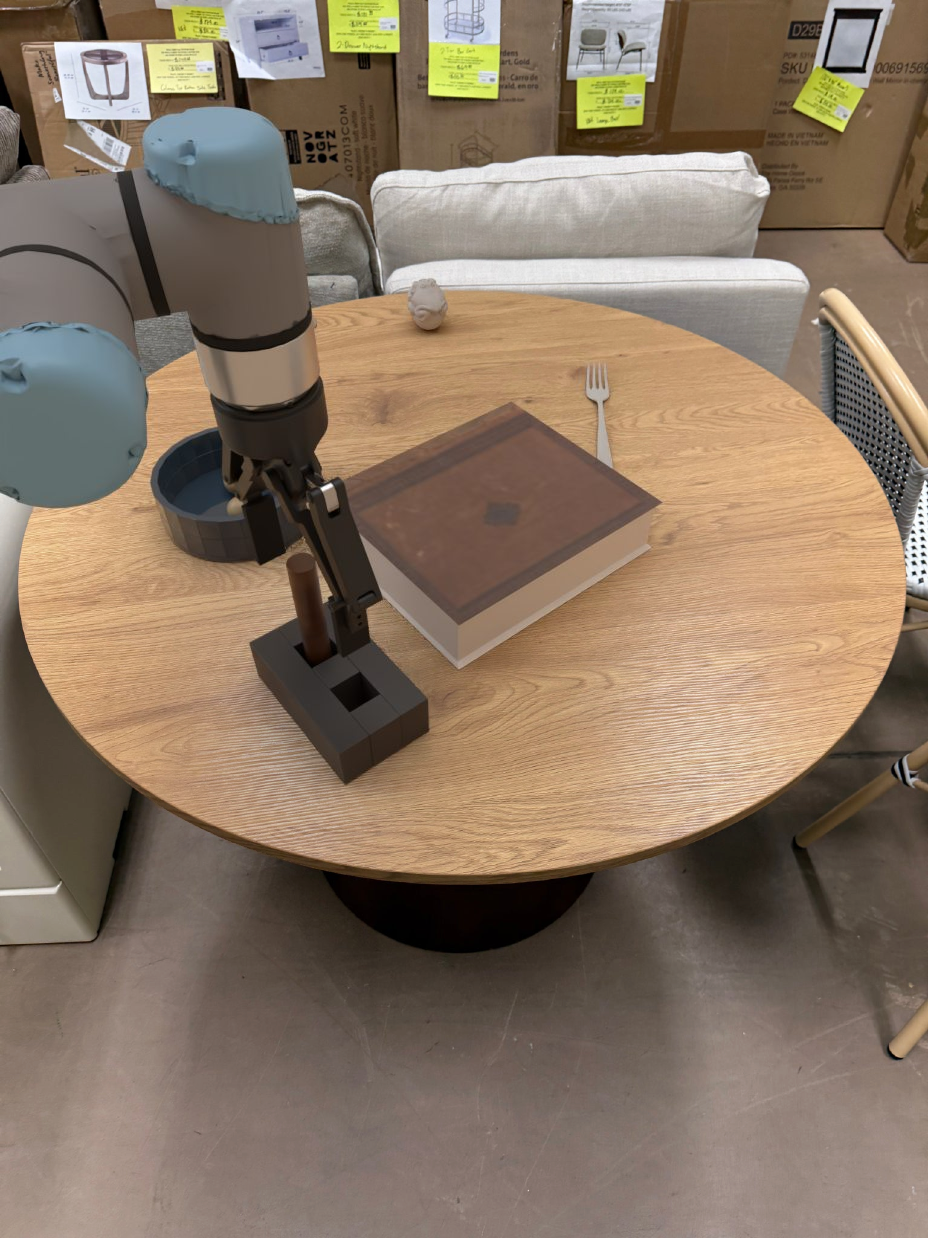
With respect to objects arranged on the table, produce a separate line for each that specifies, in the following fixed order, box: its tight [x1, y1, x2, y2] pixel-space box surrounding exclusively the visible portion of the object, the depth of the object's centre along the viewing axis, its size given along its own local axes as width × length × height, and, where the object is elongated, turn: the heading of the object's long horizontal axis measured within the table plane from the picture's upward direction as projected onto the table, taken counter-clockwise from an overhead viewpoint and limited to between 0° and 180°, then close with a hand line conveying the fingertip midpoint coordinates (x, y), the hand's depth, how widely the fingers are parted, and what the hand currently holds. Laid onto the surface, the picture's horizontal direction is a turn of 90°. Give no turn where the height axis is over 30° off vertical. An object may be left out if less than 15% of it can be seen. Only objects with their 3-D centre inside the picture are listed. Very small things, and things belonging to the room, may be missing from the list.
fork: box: [585, 361, 614, 469], centre depth 107 cm, size 3×24×2 cm, turn 177°
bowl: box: [149, 426, 308, 563], centre depth 93 cm, size 18×18×6 cm
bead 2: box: [227, 497, 243, 516], centre depth 92 cm, size 3×3×3 cm
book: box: [342, 401, 664, 671], centre depth 89 cm, size 24×28×7 cm
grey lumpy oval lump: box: [406, 277, 449, 331], centre depth 122 cm, size 6×7×7 cm
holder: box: [249, 600, 430, 785], centre depth 75 cm, size 9×15×5 cm, turn 39°
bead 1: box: [223, 480, 235, 494], centre depth 95 cm, size 3×3×3 cm
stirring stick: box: [285, 552, 332, 668], centre depth 72 cm, size 2×2×16 cm
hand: (310, 600), depth 70 cm, fingers open, 13 cm apart
